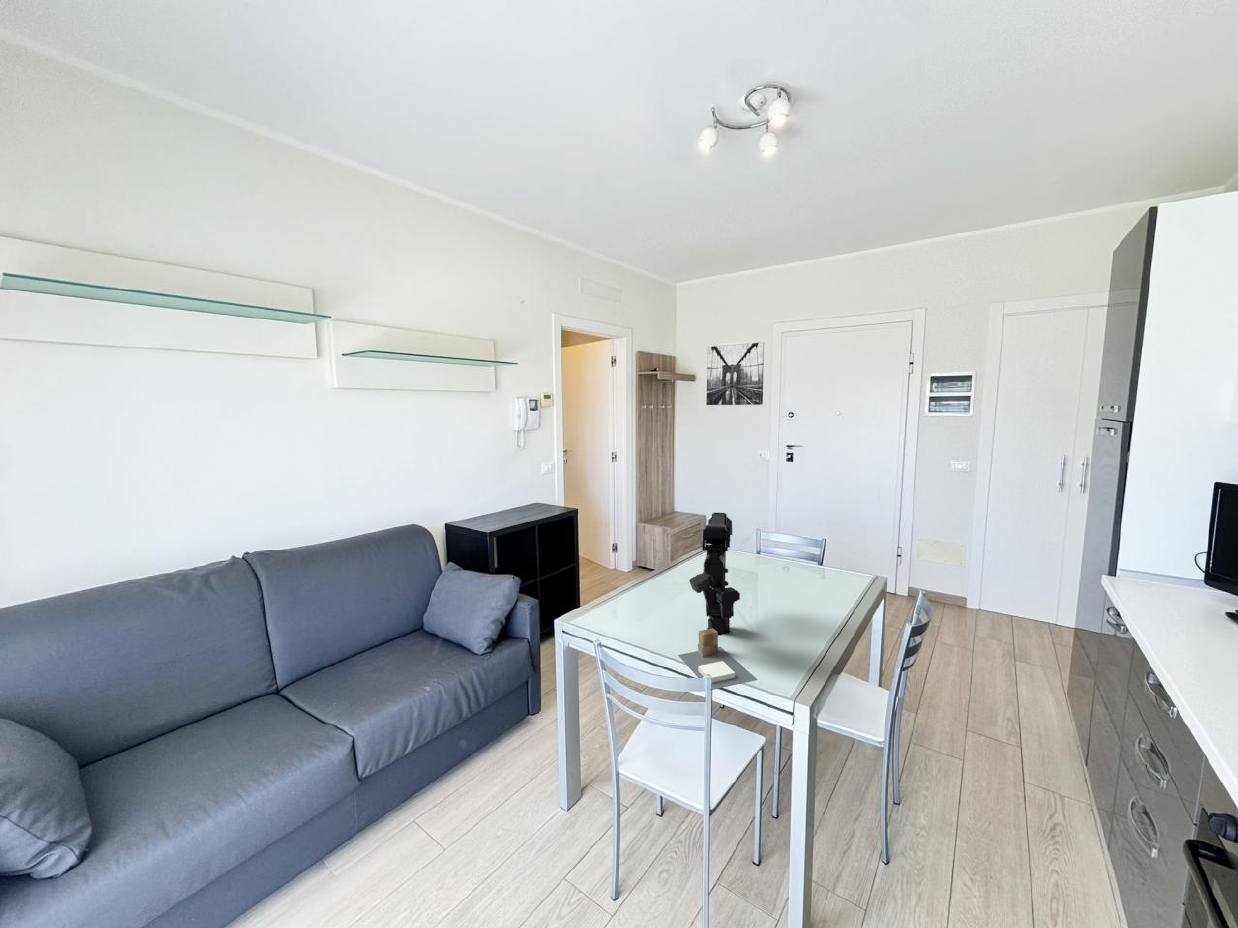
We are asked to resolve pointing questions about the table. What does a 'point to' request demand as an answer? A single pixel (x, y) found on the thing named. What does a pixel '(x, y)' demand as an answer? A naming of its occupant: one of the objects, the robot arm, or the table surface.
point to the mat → (697, 660)
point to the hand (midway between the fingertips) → (716, 613)
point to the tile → (717, 671)
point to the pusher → (708, 642)
